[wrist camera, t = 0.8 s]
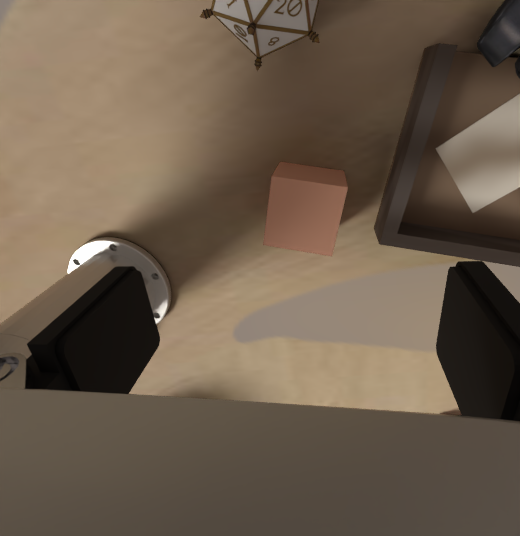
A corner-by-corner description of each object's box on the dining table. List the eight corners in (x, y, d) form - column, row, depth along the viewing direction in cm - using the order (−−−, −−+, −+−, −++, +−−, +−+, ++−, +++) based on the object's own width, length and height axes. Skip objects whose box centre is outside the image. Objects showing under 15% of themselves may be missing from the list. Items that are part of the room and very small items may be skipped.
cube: (330, 230, 35) (331, 256, 30) (272, 221, 36) (263, 244, 31) (344, 170, 32) (347, 187, 27) (279, 161, 33) (271, 176, 28)
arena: (569, 259, 33) (597, 279, 29) (373, 228, 34) (379, 244, 31) (678, 76, 25) (733, 75, 22) (424, 48, 27) (439, 43, 24)
